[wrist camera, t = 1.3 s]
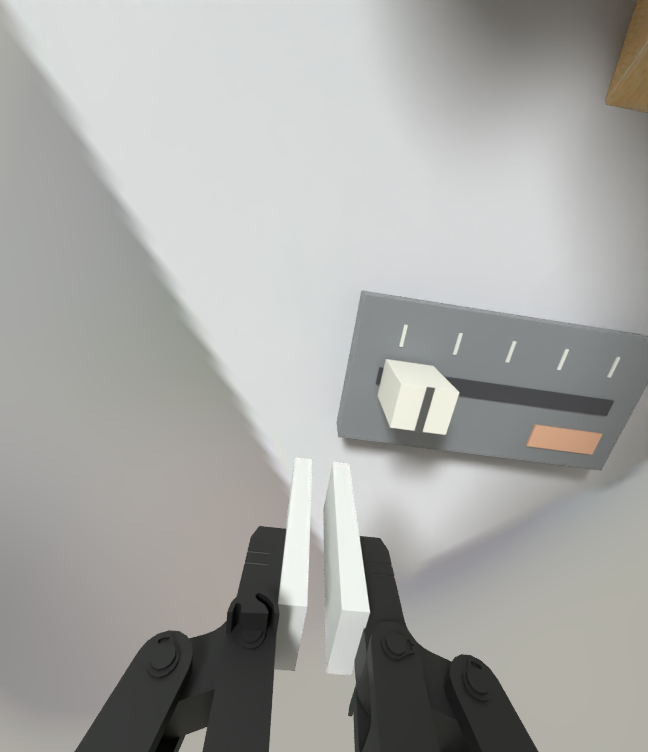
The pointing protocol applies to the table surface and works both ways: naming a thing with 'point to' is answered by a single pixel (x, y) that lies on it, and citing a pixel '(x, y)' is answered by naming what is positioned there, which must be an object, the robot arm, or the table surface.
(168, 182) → the table surface
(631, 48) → the sandwich container
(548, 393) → the fader console
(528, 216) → the table surface
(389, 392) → the fader knob
